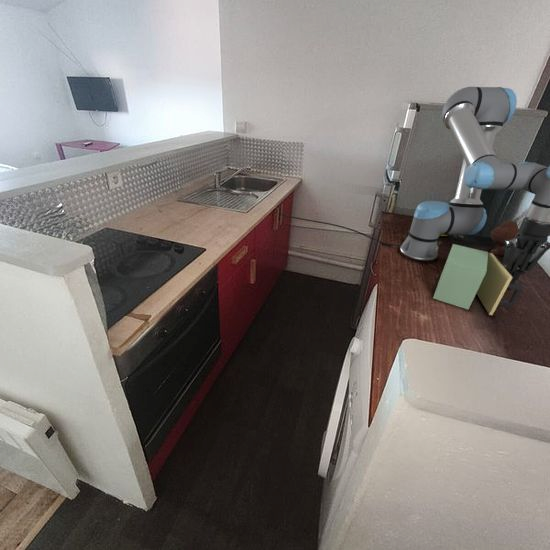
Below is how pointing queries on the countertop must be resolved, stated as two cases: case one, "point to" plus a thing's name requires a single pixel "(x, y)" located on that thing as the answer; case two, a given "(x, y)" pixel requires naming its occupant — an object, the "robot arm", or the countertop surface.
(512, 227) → the ice cream bowl
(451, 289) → the cupboard
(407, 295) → the countertop surface
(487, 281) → the door
